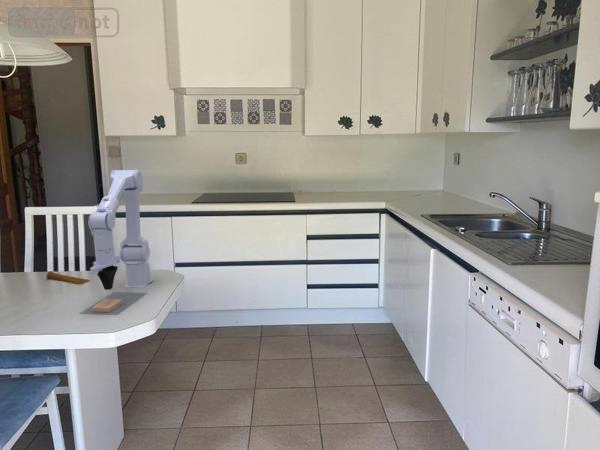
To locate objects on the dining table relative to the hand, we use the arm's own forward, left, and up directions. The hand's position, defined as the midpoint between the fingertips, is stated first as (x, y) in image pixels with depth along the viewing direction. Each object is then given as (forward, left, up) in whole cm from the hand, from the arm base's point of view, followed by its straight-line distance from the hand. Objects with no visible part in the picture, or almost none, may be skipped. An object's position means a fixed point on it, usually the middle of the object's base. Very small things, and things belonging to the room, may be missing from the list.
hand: (108, 289), depth 149 cm
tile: (-3, 0, -5) cm, 6 cm away
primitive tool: (-27, -33, -7) cm, 44 cm away
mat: (-4, 0, -6) cm, 7 cm away
